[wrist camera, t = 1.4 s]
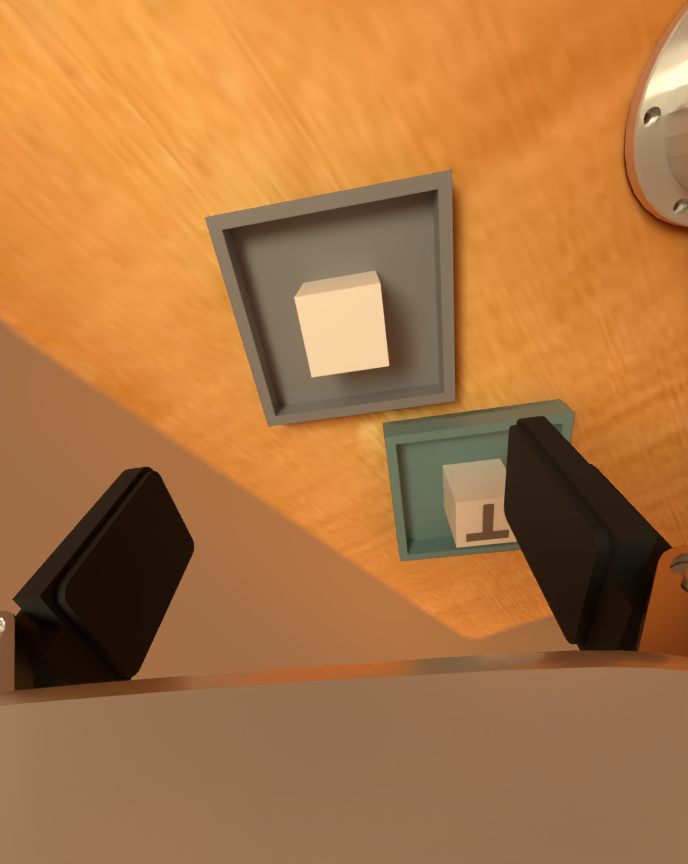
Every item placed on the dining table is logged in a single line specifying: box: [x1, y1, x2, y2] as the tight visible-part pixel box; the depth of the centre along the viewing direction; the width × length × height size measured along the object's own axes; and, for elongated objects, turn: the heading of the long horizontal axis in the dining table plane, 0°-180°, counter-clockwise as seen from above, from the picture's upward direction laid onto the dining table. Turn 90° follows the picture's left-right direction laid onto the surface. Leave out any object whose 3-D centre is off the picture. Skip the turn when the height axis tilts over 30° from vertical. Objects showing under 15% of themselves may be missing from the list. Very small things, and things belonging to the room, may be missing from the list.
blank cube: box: [294, 271, 389, 377], centre depth 25 cm, size 5×5×5 cm
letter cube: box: [442, 459, 517, 548], centre depth 33 cm, size 5×5×5 cm
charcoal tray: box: [205, 170, 455, 427], centre depth 27 cm, size 15×15×2 cm
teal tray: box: [383, 399, 575, 561], centre depth 34 cm, size 15×15×2 cm
